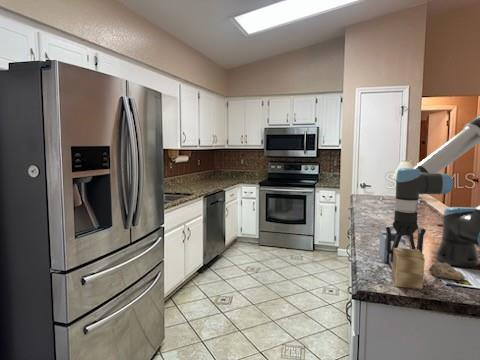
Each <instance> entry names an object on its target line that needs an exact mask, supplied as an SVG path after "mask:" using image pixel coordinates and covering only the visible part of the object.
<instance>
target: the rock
mask: <svg viewBox="0 0 480 360" xmlns="http://www.w3.org/2000/svg"><path fill="white" fill-rule="evenodd" d="M428 271H430V273H432V275H433V277H436V278H443V279H448V280H455V281H460V280H464V279H465V278H466V277H465V275H464V274H463V272H460V271H458V270H456V269H455V268H454V267H452V265H450V264H447V263H446V262H445V263H444V262H436V263H434V264H432V265H431V266H430V268H429V269H428Z"/></svg>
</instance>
